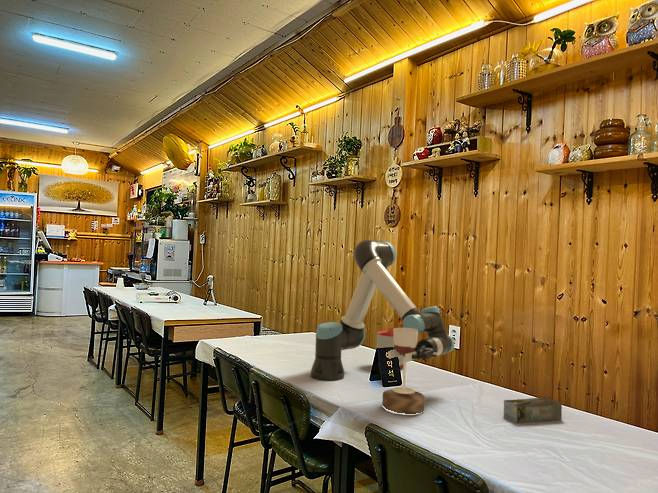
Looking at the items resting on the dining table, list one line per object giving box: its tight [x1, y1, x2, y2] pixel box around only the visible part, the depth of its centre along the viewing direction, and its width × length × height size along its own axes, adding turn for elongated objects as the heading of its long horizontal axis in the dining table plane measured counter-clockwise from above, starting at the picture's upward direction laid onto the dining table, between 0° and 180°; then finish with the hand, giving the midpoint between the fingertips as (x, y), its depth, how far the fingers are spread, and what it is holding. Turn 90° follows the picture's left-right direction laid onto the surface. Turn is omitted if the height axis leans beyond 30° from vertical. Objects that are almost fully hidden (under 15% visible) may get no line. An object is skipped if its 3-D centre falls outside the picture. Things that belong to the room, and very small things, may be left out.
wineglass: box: [392, 327, 419, 394], centre depth 177 cm, size 9×10×22 cm
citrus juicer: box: [376, 326, 404, 370], centre depth 239 cm, size 16×17×20 cm
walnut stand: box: [381, 388, 426, 414], centre depth 176 cm, size 15×15×5 cm
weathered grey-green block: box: [503, 396, 563, 424], centre depth 172 cm, size 8×19×7 cm, turn 106°
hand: (397, 356), depth 173 cm, fingers closed on wineglass, 6 cm apart
